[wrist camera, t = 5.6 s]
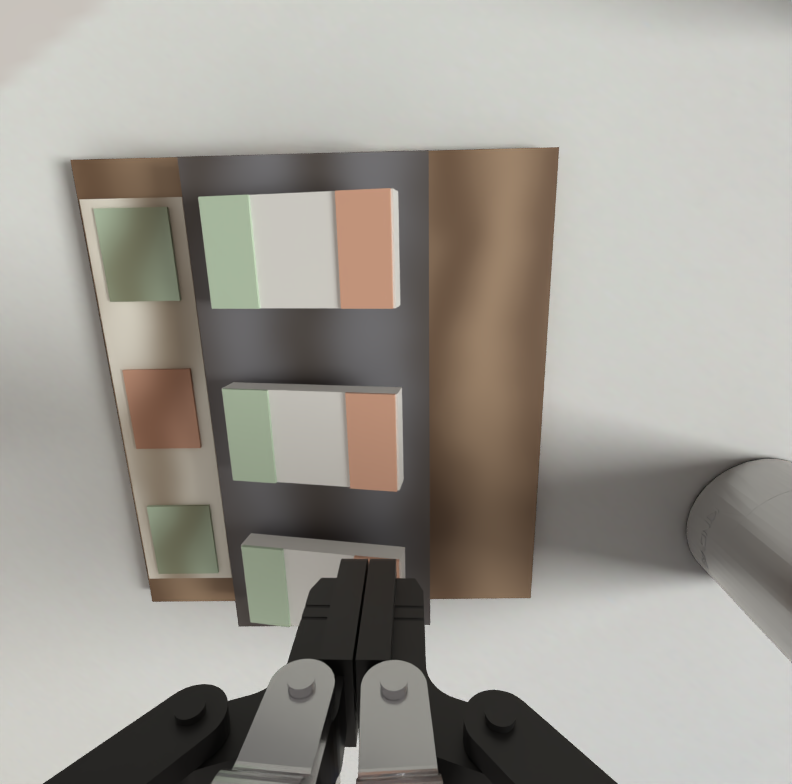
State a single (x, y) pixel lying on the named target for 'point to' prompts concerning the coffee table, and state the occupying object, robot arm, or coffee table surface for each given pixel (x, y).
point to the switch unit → (333, 364)
